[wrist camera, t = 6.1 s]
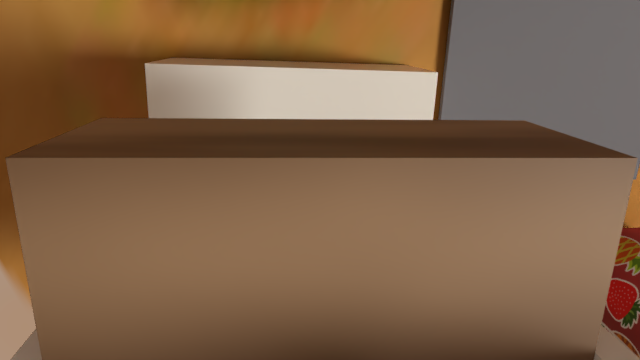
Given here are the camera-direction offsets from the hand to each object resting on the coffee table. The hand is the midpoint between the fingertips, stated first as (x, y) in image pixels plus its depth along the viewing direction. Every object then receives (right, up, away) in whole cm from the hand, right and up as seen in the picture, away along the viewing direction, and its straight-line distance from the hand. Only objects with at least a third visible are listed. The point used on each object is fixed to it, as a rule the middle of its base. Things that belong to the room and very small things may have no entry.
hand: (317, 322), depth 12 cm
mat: (+13, +10, +13) cm, 20 cm away
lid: (0, 0, +1) cm, 1 cm away
